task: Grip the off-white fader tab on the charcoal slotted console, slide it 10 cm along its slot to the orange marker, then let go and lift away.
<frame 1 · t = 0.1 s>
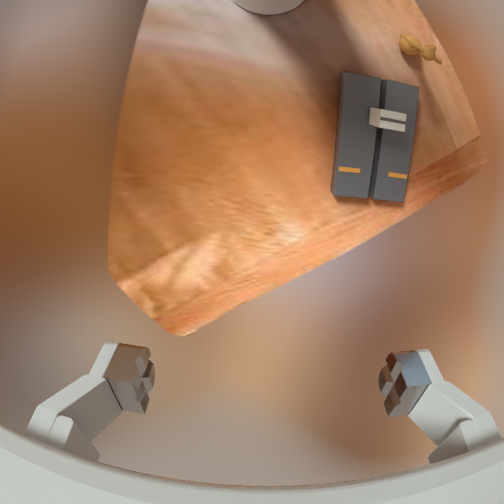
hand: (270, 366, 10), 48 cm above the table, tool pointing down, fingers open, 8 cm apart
figurine: (403, 50, 42), on the table
console: (372, 137, 50), on the table
fader tab: (385, 118, 44), point 5 cm above the table, slide at 0.0 cm
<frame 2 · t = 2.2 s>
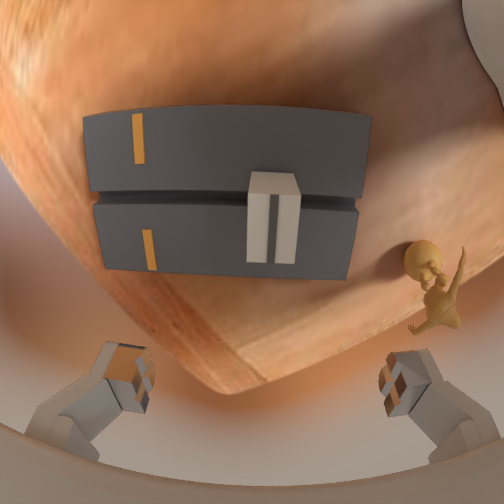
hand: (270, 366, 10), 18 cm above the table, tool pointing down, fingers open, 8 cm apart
figurine: (407, 246, 28), on the table
console: (222, 186, 26), on the table
fader tab: (271, 210, 21), point 5 cm above the table, slide at 0.0 cm
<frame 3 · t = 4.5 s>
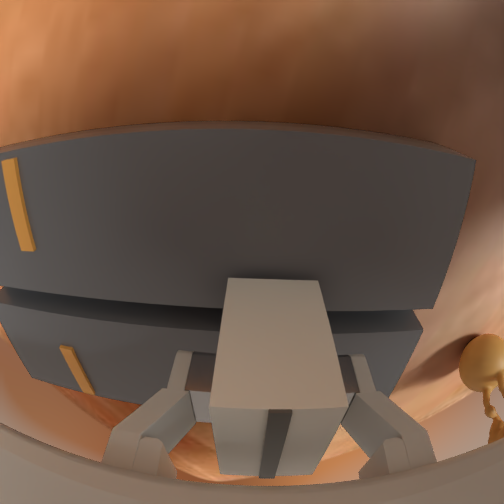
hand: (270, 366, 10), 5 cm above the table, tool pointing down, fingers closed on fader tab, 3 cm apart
figurine: (464, 339, 17), on the table
console: (182, 275, 14), on the table
fader tab: (270, 364, 10), point 5 cm above the table, slide at 0.0 cm, touching gripper
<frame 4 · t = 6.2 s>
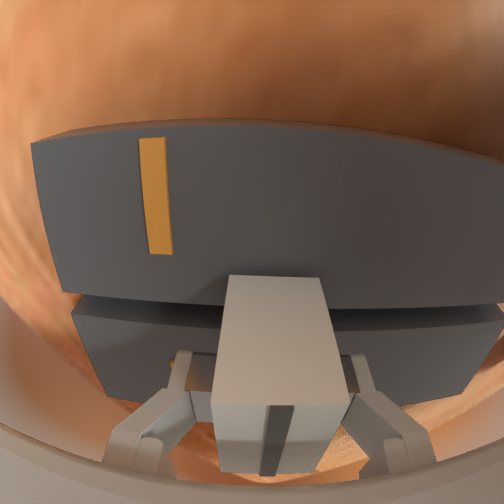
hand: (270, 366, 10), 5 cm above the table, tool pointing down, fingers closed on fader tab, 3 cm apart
console: (314, 278, 14), on the table
fader tab: (271, 361, 10), point 5 cm above the table, slide at 6.2 cm, touching gripper
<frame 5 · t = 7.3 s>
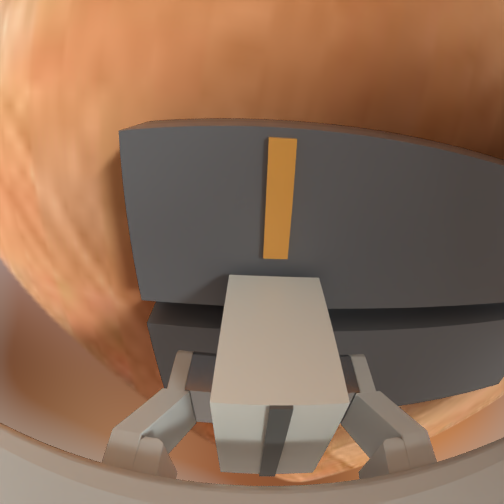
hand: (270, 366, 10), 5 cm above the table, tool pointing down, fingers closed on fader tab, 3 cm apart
console: (388, 279, 14), on the table
fader tab: (271, 361, 10), point 5 cm above the table, slide at 10.0 cm, touching gripper
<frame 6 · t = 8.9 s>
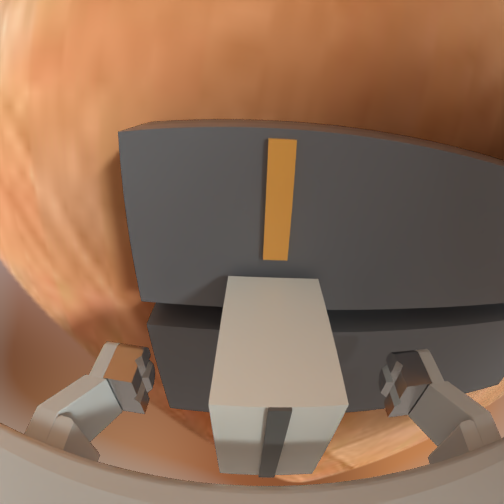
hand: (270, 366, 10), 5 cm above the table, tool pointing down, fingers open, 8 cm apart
console: (388, 280, 14), on the table
fader tab: (270, 362, 10), point 5 cm above the table, slide at 10.0 cm
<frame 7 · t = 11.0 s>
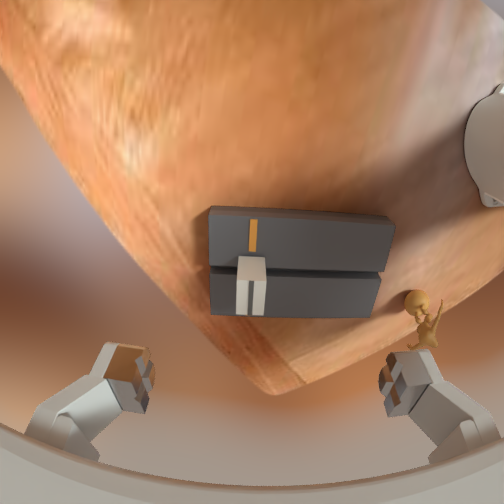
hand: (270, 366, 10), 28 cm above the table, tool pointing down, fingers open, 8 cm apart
figurine: (406, 292, 43), on the table
console: (297, 261, 40), on the table
fader tab: (250, 281, 35), point 5 cm above the table, slide at 10.0 cm
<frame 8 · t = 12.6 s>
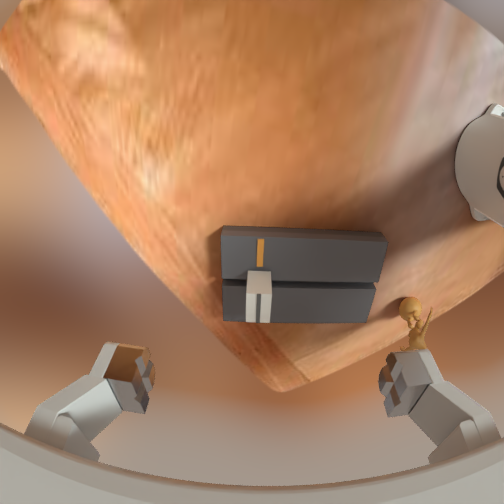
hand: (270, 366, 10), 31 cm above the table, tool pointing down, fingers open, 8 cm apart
figurine: (401, 299, 47), on the table
console: (300, 272, 45), on the table
fader tab: (258, 292, 40), point 5 cm above the table, slide at 10.0 cm
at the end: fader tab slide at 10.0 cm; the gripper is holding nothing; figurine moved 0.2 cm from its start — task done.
